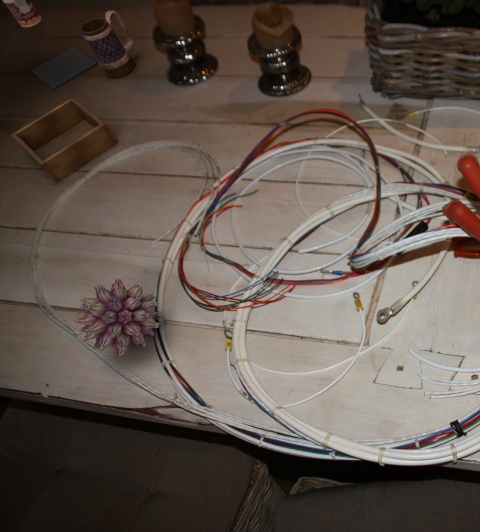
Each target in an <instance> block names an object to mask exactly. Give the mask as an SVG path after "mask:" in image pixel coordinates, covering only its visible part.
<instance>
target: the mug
mask: <svg viewBox="0 0 480 532" xmlns="http://www.w3.org/2000/svg"><path fill="white" fill-rule="evenodd" d="M112 17H114V18H115V19H116V21H117V23H118V25H119V27H120V29H121V31H122V32H123V34H124V36H125V38H126V44H125V45H123V44H122V42H121V40H120V39H119V37H118V36H117V34H116V33H115V31H114V30H113V28H112V26H111V24H112ZM80 32H81V35H82V36H83V38H84V40H85V41H86V43H87V44H88V46H89V48H90V50H91V51H92V53H93V54H94V56H95V57H96V61H97V63H98V64H99V65H100V68H102V69H103V71H104V72H105V74H106V76H108V77H110V78H113V79H114V78H120V77H121V78H122V77H124V76H126V75H128V74H129V73H131V72H132V71H133V69H134V68H135V62H134V61H133V59H132V57H131V56H130V53H129V52H128V51H129V50H130V49H131V47H132V45H133V39H132V36H131V35H130V32H129V31H128V29H127V28H126V26H125V24H124V21H123V19H122V17H121V16H120V15H119V13H118V12H117V11H115V10H107V11H106V12H105V15H104V17H94V18H91V19H88V20H86V21H84V23H83V24H82V25H81V26H80Z"/></svg>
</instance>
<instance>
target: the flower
mask: <svg viewBox="0 0 480 532" xmlns="http://www.w3.org/2000/svg"><path fill="white" fill-rule="evenodd" d="M144 287H145V285H144V284H143V283H141V282H140V283H134V285H133V286H132V287H130V288H128V289H127V288H126V287H125V285H124V283H123V282H122V278H121V277H117V278H115V279H114V283H112V284H111V289H110V290H109V289H108V288H105V287H104V286H103V285H102V284H100V283H98V284H96V285H94V286H93V289H94V290H95V295H96V297H86V296H83V295H82V296H81V297H80V299H79V301H80V302H81V303H80V305H79V309H82V311H84V313H85V314H84V315H82V316H81V317H79V318H75V319H73V322H74V324H82V325H84V326H83V327H81V328H79V332H80V333H82V334H83V333H86V334H85V335H84V336H83V337H82V338H81V342H84V343H85V342H88V340H89V341H90V340H94V339H95V342H94V344H93V346H92V347H93V348H94V350H98V351H100V352H103V351H104V350H105V348H108V347H109V346H111V347H112V348H113V349H114V350H115V351H116V355H117V357H120V356H121V357H123V356H125V352H126V351H127V350H128V349H127V348H128V346H129V344H130V342H131V343H133V344H134V345H135V346H138V345H140V346H141V347H143V348H144V347H145V348H146V347H147V345H148V343H147V342H146V341H145V336H147V335H149V336H151V337H153V336H155V334H154V333H155V332H154V331H153V329H158V328H159V326H160V323H159V322H157V321H155V320H154V318H156V317H159V316H160V315H161V312H160V311H154V309H155V308H156V307H158V306H159V301H153V300H154V299H155V298H156V295H155V293H151V294H150V295H144V291H143V289H144Z"/></svg>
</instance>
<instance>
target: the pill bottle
mask: <svg viewBox="0 0 480 532" xmlns="http://www.w3.org/2000/svg"><path fill="white" fill-rule="evenodd" d="M25 1H26V3H27V5H28V6H29V8H30V9H31V10H30V12H28V13H26V14H25V13H23V12H21V11H20V10H19V8H18V7H17V5H16V3H15V2H14V1H13V0H2V2H3V4H4V5H5V6H6V8H7V9H8V10H9V11H10V13H11V14H12V16H13V18H15V20H16V21H17V22H18V24H19V25H20V26H21V27H22V28H31V27H34V26H36V25H38V24H39V23H40V22H41V20H42V16H41V15H40V13H39V12H38V10H37V8H36V7H35V6H34V5H33V3H32V1H30V0H25Z"/></svg>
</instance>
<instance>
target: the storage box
mask: <svg viewBox="0 0 480 532" xmlns="http://www.w3.org/2000/svg"><path fill="white" fill-rule="evenodd" d="M83 120H85V121H87V122H88V123H89V124H91V126H93V127H94V128H92V129H91V130H89V131H87V132H86V133H84V134H83V135H81V136H80V137H78V138H77V139H75V140H73V141H72V142H70V143H69V144H66V146H64V147H63V148H61V149H59V150H58V151H56V152H55V153H53V154H52V155H50V156H49V157H47V158H45V159H44V160H43V159H42V158H40V156H39V155H38V154H37V153H36V152H35V150H37V149H39V148H40V147H41V146H43V145H44V144H46V143H48V142H50V141H51V140H53V139H54V138H56V137H57V136H59V135H61V134H62V133H63V132H65V131H67V130H68V129H70V128H72V127H73V126H75V125H76V124H78V123H79V122H81V121H83ZM10 136H11V137H12V138H13V139H14V140H15V142H16V143H18V145H19V146H20V147H21V148H22V149H23V150H24V151H25V153H27V155H28V156H30V157H31V159H33V161H35V162H36V163H37V164H38V165H39V166H40V167H41V168H42V169H43V170H44V171H45V172H46V173H47V174H48V175H49V177H51V178H52V179H53V180H54V181H55V182H56V183H58V182H60V181H61V180H63V179H64V178H66V177H68V175H71V174H72V173H74V172H75V171H77V170H78V169H80V168H81V167H83V166H84V165H85V164H87V163H88V162H90V161H91V160H93V159H94V158H96V157H98V156H99V155H101V154H102V153H103V152H105V151H106V150H108V149H109V148H111V147H113V146H114V145H115V144H117V143H118V142H119V141H118V139H117V138H116V137H115V135H114V134H113V133H112V131H111V129H109V127H108V125H107V124H106V123H105V122H104V121H103V120H101V119H100V118H99V117H98V116H97V115H95V114H94V113H93V112H92V111H91V110H89V109H88V108H87V107H86V106H84V105H83V104H81V103H80V102H79V101H78V100H77V99H76V98H74V97H71V98H69V99H68V100H66V101H64V102H62V103H61V104H59V105H57V106H56V107H54V108H52V109H51V110H48V112H46V113H44V114H42V115H41V116H39V117H37V118H36V119H34V120H33V121H32V122H30V123H28V124H26V125H24V126H23V127H21V128H20V129H18V130H16V131H14V132H13V133H11V135H10Z"/></svg>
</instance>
